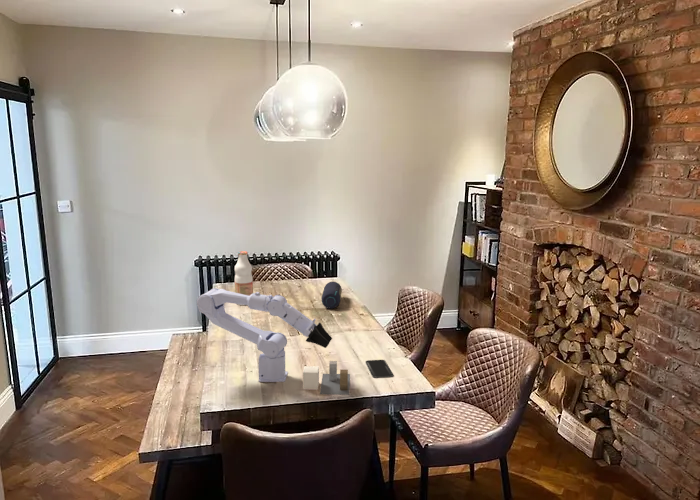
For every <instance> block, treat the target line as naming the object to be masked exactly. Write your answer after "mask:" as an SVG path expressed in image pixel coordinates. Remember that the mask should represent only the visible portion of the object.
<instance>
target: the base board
mask: <svg viewBox="0 0 700 500" xmlns="http://www.w3.org/2000/svg"><path fill="white" fill-rule="evenodd" d="M350 380H351V374H350V373H348V390H340V373H337V381H329V373H322V375H321V384H320V390H319V395H328V396H329V395H331V396H332V395H337V396H343V395H344V396H345V395H346V396H350V392H351V391H350V385H351V381H350Z"/></svg>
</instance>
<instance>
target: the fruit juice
mask: <svg viewBox="0 0 700 500" xmlns="http://www.w3.org/2000/svg"><path fill="white" fill-rule="evenodd" d="M237 255H238V258H237V262H236V264H235V265H234V274H235V275H234V292H235V293H239V294H244V295H248V296H250V295H251V294H252V293H254V288H253V286H254V285H253V283H254V281H253V280H254V279H253V275H252V271H253V266H252V264H251V263H250V261H249V259H248V251H245V250H244V251H243V250H241V251H238V252H237ZM237 305H238V306H244V305H243V304H237Z"/></svg>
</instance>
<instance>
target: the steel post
mask: <svg viewBox="0 0 700 500" xmlns="http://www.w3.org/2000/svg"><path fill="white" fill-rule="evenodd" d="M328 365H329V367H328V368H329V369H328V370H329V371H328V374H329V381H337V374H338V362H337V360H330V361H329V364H328Z"/></svg>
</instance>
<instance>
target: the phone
mask: <svg viewBox="0 0 700 500" xmlns="http://www.w3.org/2000/svg"><path fill="white" fill-rule="evenodd" d="M365 365H366V366H367V369H368V370H369V372H370V374H371V377H372V378H374V379H383V378H393V377H394V373H393V372H392V370H391V369H390V367H389V365H388V363H387V362H386V360H385V359H370V360H369V359H368V360H365Z"/></svg>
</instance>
